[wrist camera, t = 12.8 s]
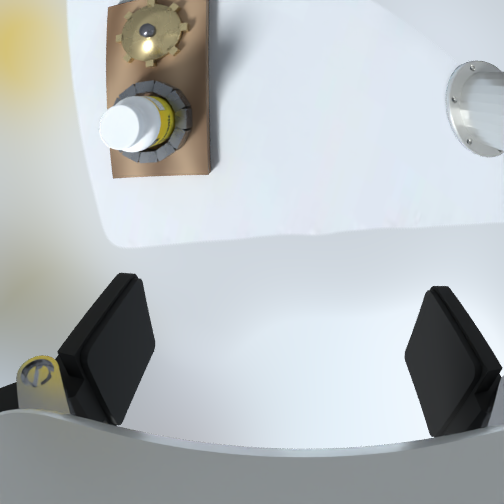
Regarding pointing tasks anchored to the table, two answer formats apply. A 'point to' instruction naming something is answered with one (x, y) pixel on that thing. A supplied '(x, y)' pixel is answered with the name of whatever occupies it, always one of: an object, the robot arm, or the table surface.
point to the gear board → (174, 73)
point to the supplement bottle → (137, 123)
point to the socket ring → (181, 119)
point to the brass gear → (152, 33)
